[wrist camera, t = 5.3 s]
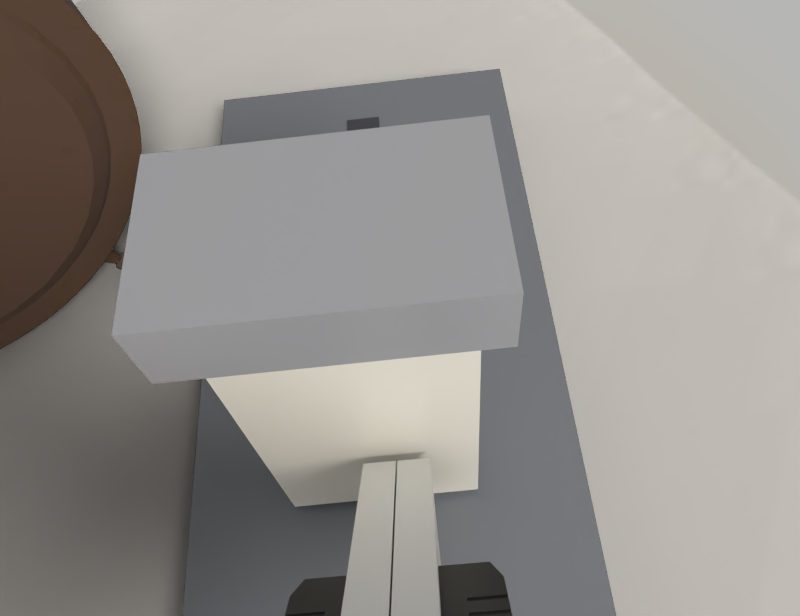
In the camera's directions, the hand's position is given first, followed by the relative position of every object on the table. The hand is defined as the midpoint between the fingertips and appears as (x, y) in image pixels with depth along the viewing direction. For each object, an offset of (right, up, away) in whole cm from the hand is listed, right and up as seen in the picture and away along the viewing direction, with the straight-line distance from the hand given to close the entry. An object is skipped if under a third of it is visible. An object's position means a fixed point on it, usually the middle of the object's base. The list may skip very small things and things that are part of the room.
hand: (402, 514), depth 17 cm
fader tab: (-1, +1, +3) cm, 4 cm away
